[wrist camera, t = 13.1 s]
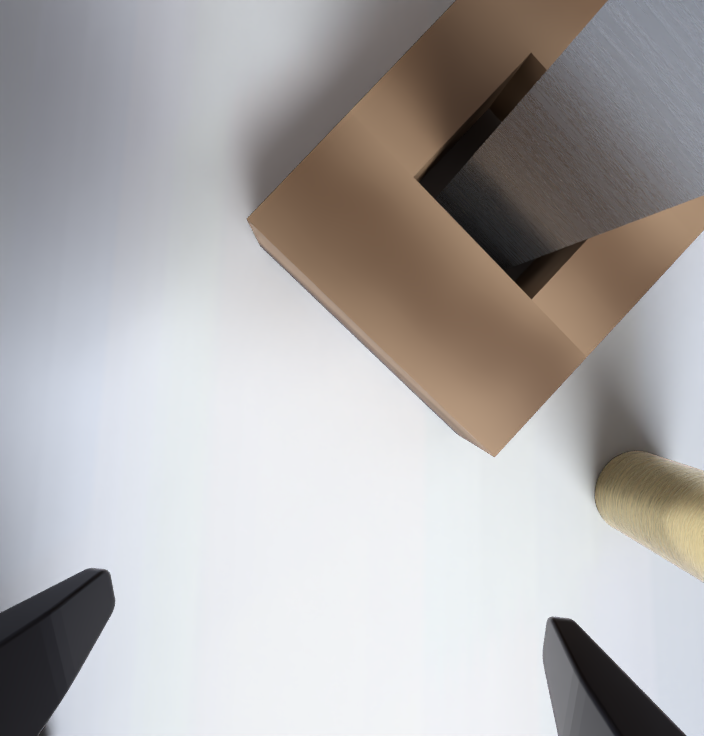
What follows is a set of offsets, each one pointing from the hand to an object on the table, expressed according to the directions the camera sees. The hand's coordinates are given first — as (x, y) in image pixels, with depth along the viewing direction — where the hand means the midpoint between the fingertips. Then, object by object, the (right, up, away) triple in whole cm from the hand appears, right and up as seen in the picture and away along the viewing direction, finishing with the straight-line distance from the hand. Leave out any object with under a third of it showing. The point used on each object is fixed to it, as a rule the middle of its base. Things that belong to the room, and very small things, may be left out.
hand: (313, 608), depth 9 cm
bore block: (+7, +12, +10) cm, 17 cm away
